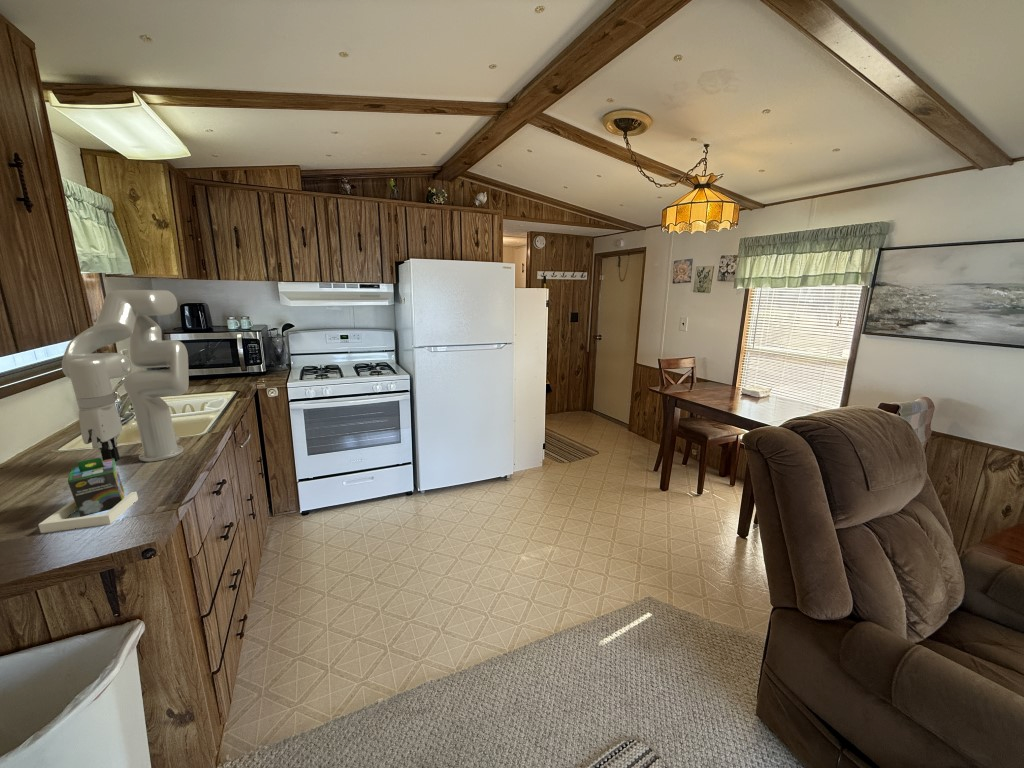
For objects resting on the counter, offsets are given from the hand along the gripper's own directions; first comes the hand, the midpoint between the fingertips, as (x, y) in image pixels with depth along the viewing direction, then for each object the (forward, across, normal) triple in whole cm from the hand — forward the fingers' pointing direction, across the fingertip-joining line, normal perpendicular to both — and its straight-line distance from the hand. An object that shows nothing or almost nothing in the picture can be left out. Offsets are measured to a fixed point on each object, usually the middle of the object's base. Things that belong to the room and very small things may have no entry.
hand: (111, 460), depth 121 cm
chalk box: (+11, +6, -1) cm, 13 cm away
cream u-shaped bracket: (+11, +11, 0) cm, 16 cm away
